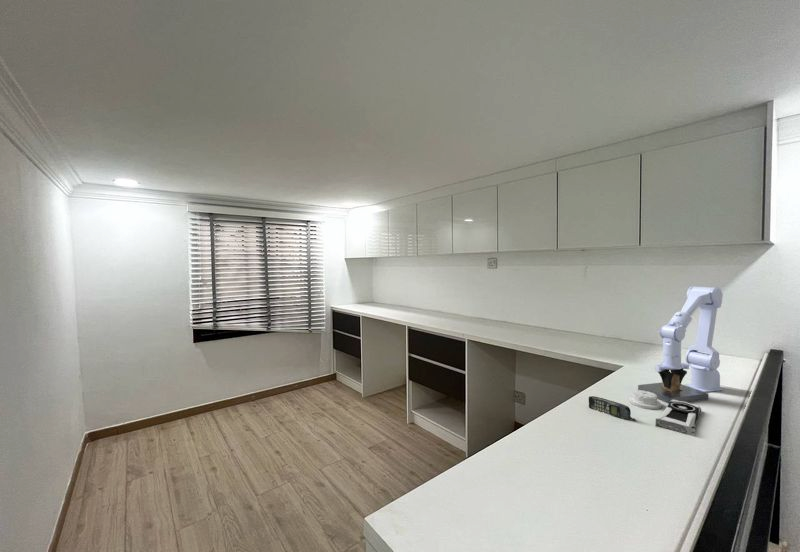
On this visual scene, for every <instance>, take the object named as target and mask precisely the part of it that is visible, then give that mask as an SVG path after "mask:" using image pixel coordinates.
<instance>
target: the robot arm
mask: <svg viewBox="0 0 800 552" xmlns="http://www.w3.org/2000/svg"><path fill="white" fill-rule="evenodd" d="M723 297H724V294H723V292H722V290H721V289H720V287H712V286H711V287H710V286H709V287H708V286H707V287H706V286H694V285H693V286H690V287H688V289H687V291H686V298H687V299H686V301H685V303H684V304H683V306H682V308H681V310H680V311H677V312H675V313H674V315H672V316H671V319H670V320H669V321H668V323H667V324H665V325H662V326H661V327H660V329H659V337H660V338H661V339H660V340H661V342H662V362H660V364H658V365H657V364H656V365H654V371H656V372H657V373H658V374H659V376H660V378H661V382H662V381H663V384H664V387H666V388H670V387H671V381H672V377H673V375H674V374H676V375H679V376H680V385H681V384H682V383H683V379H684V378H685V376H686V375H687V374H688V371H687V370H689V369H690V383H686V384H684V385H685V386H688V387H691V388H694V389H697V390H699V391H702V392H705V393H708V392H709V393H710V392H718V391H723V388H721V374H720V372H719V370H718V368H719V367H720V363H721V360H720V353H719V351H718V350H716V349H715V348H714V347H713V346H712V345H713V341H714V340H713V339H714V332H715V325H716V321H717V313H718V309H719V308H721V307H722V302H723ZM698 308H700V314H699V319H698V320H699V321H698V327H697V332H696V333H697V334H696V340H695V344H693V345H689V346H688V347H687V352H686V353H685V357H684V358H685V359H684V360H685V361H686V363H684V362H682V341H683V340H684V339H685V337H686V332H687V328H688V327H689V325H690V323H691V322H692V320H693V318H692V317H691V316H692V315H693V313H694V312H696V311H697V309H698Z"/></svg>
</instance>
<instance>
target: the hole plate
mask: <svg viewBox="0 0 800 552" xmlns="http://www.w3.org/2000/svg"><path fill="white" fill-rule="evenodd" d="M637 390H641V391H642V390H643V391H649V392H651V393H654V394H656V395H657V400H658V401H660V402H661V401H662V402H664V403H665V404H667V405H668V404H669V402H670V401H671V400H678V401H683V402H688V403H694V402H695V403H696V402H702V401H709V393H708V392H703V391H700V390H697V389H694V388H691V387H688V386H686V385H685V384H682V383H681V385H680V391H679V392H671V391H669V390H666V389H663V388H662V382H656V383H655V382H653V383H646V384H638V385H637Z"/></svg>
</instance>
